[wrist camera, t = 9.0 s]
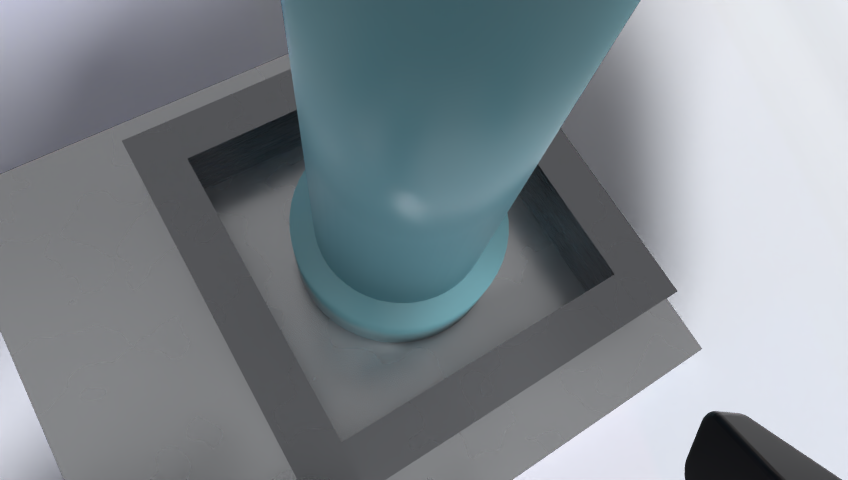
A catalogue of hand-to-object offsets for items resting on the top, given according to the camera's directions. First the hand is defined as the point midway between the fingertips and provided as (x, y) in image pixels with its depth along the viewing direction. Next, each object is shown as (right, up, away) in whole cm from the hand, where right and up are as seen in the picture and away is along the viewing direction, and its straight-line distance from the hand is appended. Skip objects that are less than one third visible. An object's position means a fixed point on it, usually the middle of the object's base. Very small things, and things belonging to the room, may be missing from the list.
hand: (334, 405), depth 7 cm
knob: (0, +2, +11) cm, 11 cm away
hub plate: (-2, +1, +11) cm, 11 cm away
